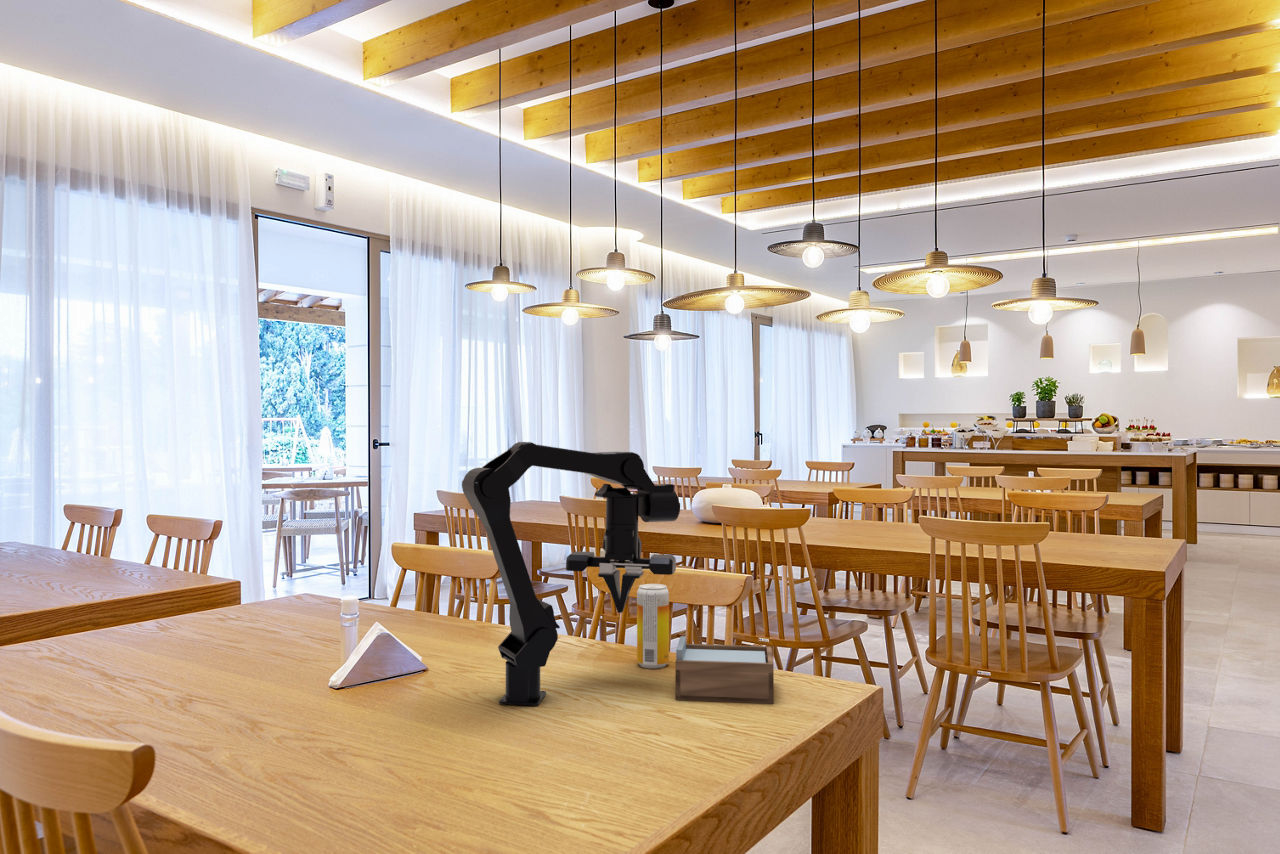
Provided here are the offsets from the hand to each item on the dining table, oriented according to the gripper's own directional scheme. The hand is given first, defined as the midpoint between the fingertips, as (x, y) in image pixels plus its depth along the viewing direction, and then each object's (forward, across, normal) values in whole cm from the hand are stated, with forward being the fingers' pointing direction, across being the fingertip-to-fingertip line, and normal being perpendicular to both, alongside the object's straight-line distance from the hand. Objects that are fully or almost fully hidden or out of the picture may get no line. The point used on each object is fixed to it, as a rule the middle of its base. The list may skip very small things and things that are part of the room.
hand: (620, 612), depth 148 cm
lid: (+7, -18, +1) cm, 19 cm away
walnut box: (+12, -18, +1) cm, 22 cm away
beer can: (+13, -4, -14) cm, 19 cm away
